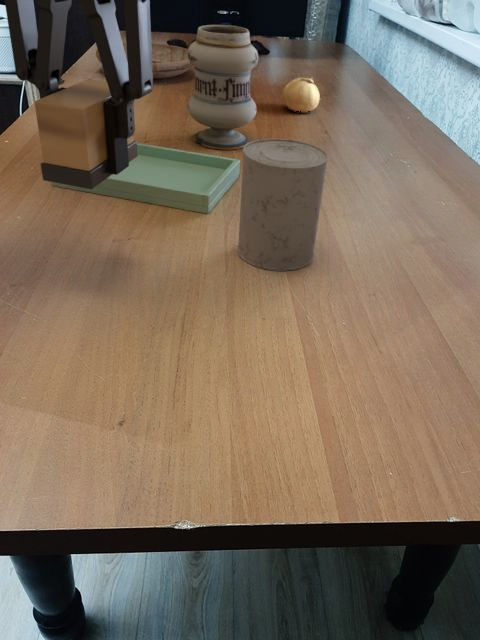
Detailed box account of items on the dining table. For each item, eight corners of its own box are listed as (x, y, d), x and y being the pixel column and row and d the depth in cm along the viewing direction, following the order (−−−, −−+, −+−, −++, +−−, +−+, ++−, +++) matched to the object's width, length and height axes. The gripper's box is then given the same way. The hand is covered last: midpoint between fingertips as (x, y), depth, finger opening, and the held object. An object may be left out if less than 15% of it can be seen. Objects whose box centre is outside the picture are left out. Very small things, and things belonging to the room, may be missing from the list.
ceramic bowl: (111, 60, 149) (109, 38, 146) (201, 68, 149) (201, 47, 146) (86, 79, 130) (83, 55, 127) (188, 89, 131) (188, 65, 128)
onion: (282, 114, 120) (285, 78, 116) (280, 104, 126) (283, 69, 122) (319, 117, 121) (324, 81, 116) (315, 107, 127) (319, 72, 123)
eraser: (91, 189, 52) (83, 110, 48) (42, 180, 53) (30, 101, 49) (137, 156, 60) (134, 85, 56) (94, 148, 61) (87, 78, 57)
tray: (51, 185, 81) (48, 167, 80) (101, 152, 93) (100, 136, 92) (208, 214, 78) (208, 195, 76) (239, 176, 90) (240, 159, 88)
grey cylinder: (329, 255, 71) (346, 157, 63) (276, 279, 65) (287, 174, 58) (275, 228, 76) (284, 133, 68) (221, 247, 70) (225, 147, 63)
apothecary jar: (174, 137, 103) (171, 23, 92) (223, 127, 110) (227, 20, 99) (218, 156, 96) (222, 37, 85) (268, 144, 103) (277, 32, 93)
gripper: (194, -129, 44) (191, 168, 58) (-14, -149, 47) (32, 139, 61) (155, -138, 38) (163, 194, 52) (-80, -161, 41) (-12, 161, 55)
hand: (92, 164), depth 56 cm, fingers closed on eraser, 5 cm apart
